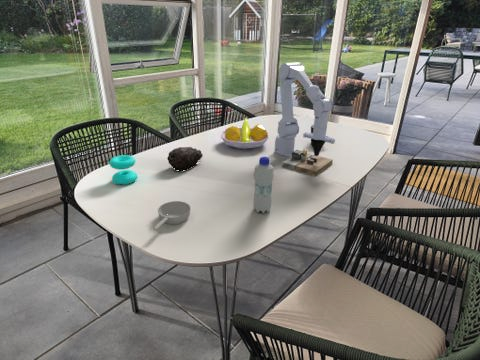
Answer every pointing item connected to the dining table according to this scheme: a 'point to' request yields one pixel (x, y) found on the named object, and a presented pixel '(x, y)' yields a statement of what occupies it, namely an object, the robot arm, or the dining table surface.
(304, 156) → the bolt
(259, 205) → the bottle
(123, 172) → the donuts
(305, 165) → the wooden latch board
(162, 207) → the small pan
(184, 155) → the pine cone
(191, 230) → the dining table surface
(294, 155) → the lock hardware
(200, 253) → the dining table surface
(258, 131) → the fruit bowl
